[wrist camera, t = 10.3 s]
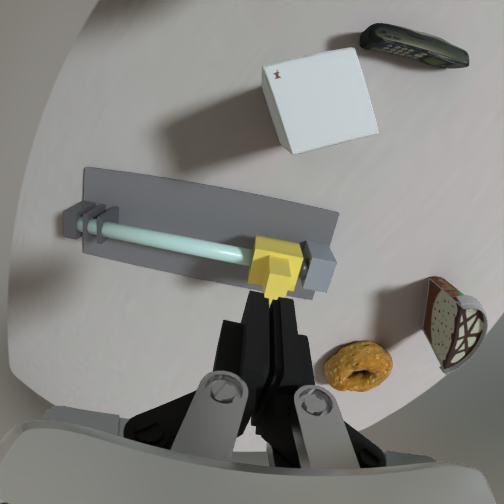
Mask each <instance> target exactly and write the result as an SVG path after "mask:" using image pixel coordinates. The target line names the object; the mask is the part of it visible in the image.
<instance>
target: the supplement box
mask: <svg viewBox="0 0 504 504" xmlns="http://www.w3.org/2000/svg"><path fill="white" fill-rule="evenodd" d="M262 90H263V93H264V96H265V99H266V102H267V106H268V109H269V112H270V115H271V118H272V121H273V124H274V127H275V130H276V133H277V136H278V139H279V142H280V144H281V145H282V146H283V147H284V148H285V149H286V150H288V151H289V152H290V153H291V154H293V155H296V154H300V153H304V152H308V151H312V150H316V149H320V148H324V147H328V146H332V145H336V144H340V143H344V142H348V141H352V140H356V139H360V138H364V137H368V136H372V135H376V134H379V130H378V127H377V123H376V119H375V115H374V112H373V108H372V104H371V101H370V97H369V93H368V90H367V86H366V83H365V79H364V76H363V73H362V69H361V66H360V63H359V60H358V57H357V53H356V50H355V49H354V48H352V47H350V48H343V49H337V50H332V51H326V52H321V53H316V54H310V55H305V56H301V57H298V58H293V59H289V60H285V61H281V62H277V63H273V64H269V65H265V66H263V67H262Z"/></svg>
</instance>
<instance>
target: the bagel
mask: <svg viewBox="0 0 504 504" xmlns="http://www.w3.org/2000/svg"><path fill="white" fill-rule="evenodd" d="M392 367H393V363H392V358H391V356H390V354H389V353H388V352H387V351H385V350H384V349H383V348H382V347H381V346H380V345H378V344H376V343H374V342H372V341H360V342H356V343H352V344H350V345H347V346H345V347H343V348H341V349H340V350H339V351H338V353H337V354H335V355H333V356H332V357H331V358H330V359H329V360H327V361H326V362H325V364H324V374H325V377H326V379H327V382H328V383H329V384H330V385H331V387H333V388H334V389H337V390H339V391H346V390H350V391H358V392H364V391H368V390H370V389H372V388H374V387H376V386H378V385H380V384H381V383H382V382H383V381H384V380H385V379H386V378H387V377H388V376H389V375H390V372H391V369H392Z"/></svg>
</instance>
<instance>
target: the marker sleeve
mask: <svg viewBox="0 0 504 504" xmlns="http://www.w3.org/2000/svg"><path fill="white" fill-rule="evenodd" d="M253 250H254V255H253V259H252V264H251V266H249V275H248V283H250V284H256V285H261V286H262V293H264V297H265V298H269V304H271V302H272V300H273V299H274V300H277V299H278V297H283V298H286V294H287V291H293V292H294V289H295V285H296V282H297V279H298V275H299V272H300V268H301V265H302V262H303V255H302V251H301V248H300V244H299V243H294V242H289V241H284V240H279V239H274V238H269V237H264V236H259V235H256V238H255V243H254V247H253Z"/></svg>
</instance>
